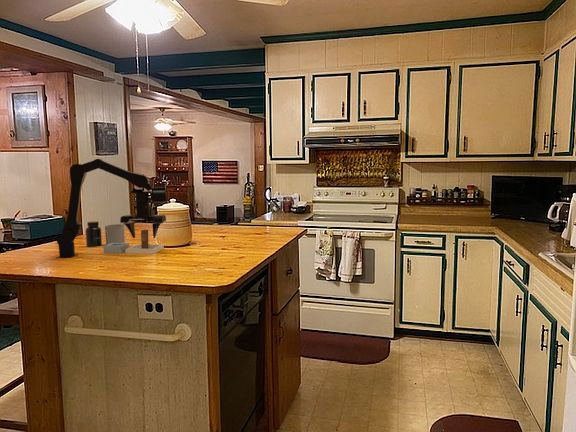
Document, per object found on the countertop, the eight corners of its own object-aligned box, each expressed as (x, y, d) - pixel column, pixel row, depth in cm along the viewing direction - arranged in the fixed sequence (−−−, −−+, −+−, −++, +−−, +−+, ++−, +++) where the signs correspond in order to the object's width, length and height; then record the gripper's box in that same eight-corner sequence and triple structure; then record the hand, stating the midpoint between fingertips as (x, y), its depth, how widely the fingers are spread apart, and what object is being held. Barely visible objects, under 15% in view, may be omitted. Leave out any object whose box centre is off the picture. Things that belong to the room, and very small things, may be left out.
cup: (128, 244, 212) (127, 224, 211) (120, 248, 204) (118, 226, 203) (111, 244, 213) (110, 224, 212) (102, 247, 205) (101, 226, 204)
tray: (155, 254, 189) (154, 249, 188) (125, 254, 189) (125, 249, 189) (163, 249, 200) (163, 244, 199) (135, 249, 200) (135, 244, 200)
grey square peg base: (121, 254, 190) (121, 246, 190) (103, 254, 191) (103, 246, 190) (129, 250, 198) (128, 242, 198) (112, 250, 199) (111, 242, 198)
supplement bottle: (98, 248, 205) (96, 222, 203) (83, 248, 205) (82, 223, 203) (104, 245, 212) (103, 220, 210) (90, 245, 212) (89, 220, 210)
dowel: (147, 251, 193) (146, 230, 192) (140, 250, 193) (139, 230, 192) (149, 249, 196) (149, 229, 195) (143, 249, 196) (142, 229, 195)
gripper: (169, 201, 199) (170, 235, 201) (129, 201, 200) (131, 235, 202) (160, 203, 188) (162, 239, 190) (118, 204, 189) (120, 239, 191)
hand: (144, 238), depth 194 cm, fingers open, 9 cm apart
